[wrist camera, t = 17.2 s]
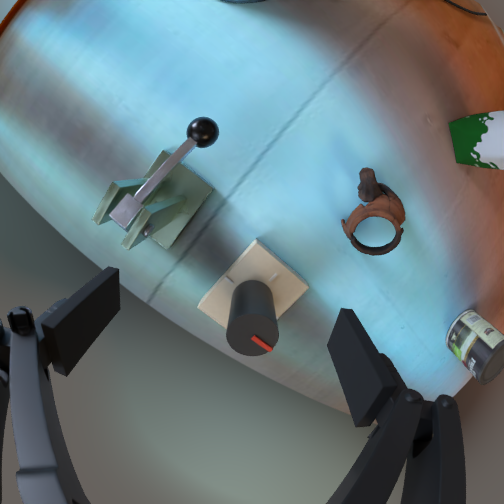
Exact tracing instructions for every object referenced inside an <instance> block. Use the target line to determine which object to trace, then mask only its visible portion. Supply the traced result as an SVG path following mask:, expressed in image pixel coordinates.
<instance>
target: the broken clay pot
mask: <svg viewBox="0 0 504 504" xmlns="http://www.w3.org/2000/svg"><path fill="white" fill-rule="evenodd" d="M359 175H360V180H361V182H360V184H359V186H358V190H359V191H358V193H359V198H360V199H361V200H362V201H364V202H369V203H368V204H367V205H366V206H363V205H362V204H360V205H359V206H358V207H357V208H356V209H355V210H354V211H353V212H352V213H351V215H350V217H349V218H348V220H347V222H346V224H345V221H344V219H342V220H341V223H342V227H343V230H344V232H345V234H346V236H347V237H348V238H349V239H350V240H351V244H352V245H353V246H354V247H355V248H356V249H357V250H358V251H360V252H362V253H364V254H369V255H373V256H374V255H384V254H387V253H389V252H390V251H392V250H393V249H394V248H396V247H397V245H398V244H399V242H400V240H401V235H402V233H403V231H404V229H403V228H401V227H400V225H401V224H402V223H403V222H404V221H405V211H404V208H403V204H402V202H401V200H400V199H399V198H398V196H397V195H396V194H395V193H394V192H393V191H392V190H391V189H390V188H389V187H388V186H386V185H384V184H382V183H378V182H377V181H376V178H375V174H374V171H373V169H370V168H362V170H361V171H360V172H359ZM382 192H384V193H385V194H383V193H382ZM373 216H376V217H383V218H385V219H387V220H389V221H390V222H392V224H393V225H394V227H395V230H396V235H395V237H394V239H393V240H392V242H390V243H388V244H386V245H384V246H381V247H369V246H365V245H363V244H361V243H360V242H359V241H358V240H357V239H356V237H355V236H354V235H353V233H354V232H355V229H356V227H357V225H358V224H359V223H360V222H361V221H362V220H364V219H366V218H368V217H373Z"/></svg>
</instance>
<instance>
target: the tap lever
mask: <svg viewBox="0 0 504 504" xmlns="http://www.w3.org/2000/svg"><path fill="white" fill-rule="evenodd" d="M218 135H219V128H218V125H217V124H216V122H215V121H214V120H212V119H210V118H208V117H199V118H196V119H194V120H193V121H192V122H191V123H190V124H189V126H188V128H187V138H188V139H187V140H186V141H185V142H184V143H183V144H182V145H181V146H180V147H179V148H178V149H177V150H176V151H175V152H174V153H173V154H172V155H171V156H170V157H169V158H168V159H167V160H166V161H165V162H164V163H163V164H162V165H161V166H160V167H159V169H158V170H157V171H156V172H155V173H154V174H153V175H152V176H151V177H150V178H149V179H148V181H147V182H146V183H145V184H144V185H143V186H142V187H141V188H140V190H139V191H138V192H137V193H136V194H135V195H134V196H131V195H130V194H129V193H126V195H125V196H124V197H123V198H122V199H121V201H120V202H119V203H118V204H117V205H116V207H115V208H114V209H113V210H112V211H111V213H110V214H109V216H110V217H111V218H112V220H113V221H114V222H115V223H117V224H118V225H119V226H120V227H121V228H122V229H124V230H125V231H126V232H127V233H128V231H129V230H130V228H131V226H132V225H133V223H134V221H135V220H136V218H137V217H138V215H139V214H140V212H141V210H142V209H143V207H144V205H143V204H144V203H145V202H146V201H147V199H148V198H149V197H150V196H151V195H152V194H153V192H154V191H155V190H156V189H157V188H158V187H159V186H160V184H161V183H162V182H163V181H164V180H165V179H166V178H167V177H168V176H169V175H170V173H171V172H172V171H173V170H174V169H175V168H176V167H177V166H178V165H179V164H180V163H181V162H182V161H183V160H184V159H185V158H186V156H187V155H188V154H189V153H190V152H191V151H192V150H193V149H194V148H195V147H198V148H206V147H209V146H211V145H213V144H214V143H215V142H216V140H217V138H218Z"/></svg>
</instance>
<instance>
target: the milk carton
mask: <svg viewBox="0 0 504 504" xmlns="http://www.w3.org/2000/svg"><path fill="white" fill-rule="evenodd" d="M449 128H450V132H451V136H452V141H453V146H454V151H455V156H456V162H457V163H461V164H466V165H471V166H476V167H482V168H492V169H501V170H504V111H496V112H488V113H480V114H474V115H470V116H467V117H464V118H461V119H458V120H456V121H453V122H450V123H449Z"/></svg>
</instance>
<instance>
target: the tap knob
mask: <svg viewBox="0 0 504 504" xmlns="http://www.w3.org/2000/svg"><path fill="white" fill-rule="evenodd" d="M226 337H227V341H228V343H229V345H230V346H231V348H232V349H234V350H235V351H236V352H238V353H240V354H243V355H246V356H259V355H262V354H265V353H267V352H271V351H272V350H273V347H274V346H275V345H276V343H277V341H278V337H279V332H278V325H277V319H276V313H275V306H274V300H273V294H272V292H271V290H270V288H269V287H268V286H267V285H266V284H265V283H263V282H261V281H257V280H248V281H244V282H242V283H240V284H239V285H238V286H237V287H236V288H235V289H234V291H233V294H232V299H231V306H230V312H229V319H228V325H227V332H226Z"/></svg>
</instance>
